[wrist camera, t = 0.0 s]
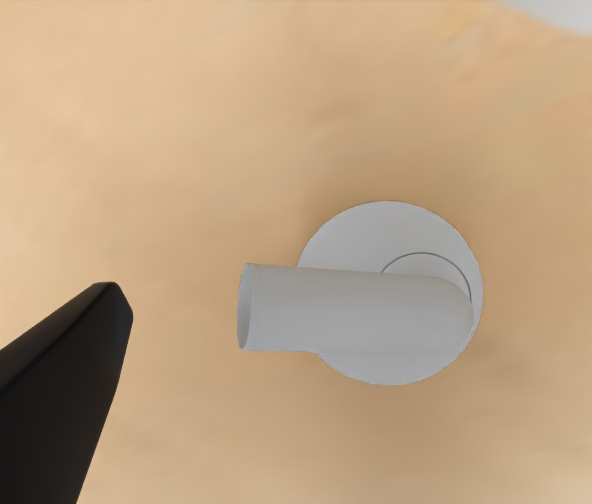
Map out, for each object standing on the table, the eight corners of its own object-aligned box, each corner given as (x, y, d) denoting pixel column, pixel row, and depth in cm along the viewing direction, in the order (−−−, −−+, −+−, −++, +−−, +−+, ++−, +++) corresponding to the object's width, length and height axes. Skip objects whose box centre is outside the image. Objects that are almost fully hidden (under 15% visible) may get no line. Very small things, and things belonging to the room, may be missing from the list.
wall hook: (225, 180, 14) (567, 218, 13) (283, 189, 24) (484, 211, 22) (202, 437, 15) (515, 500, 14) (266, 347, 25) (456, 379, 23)
